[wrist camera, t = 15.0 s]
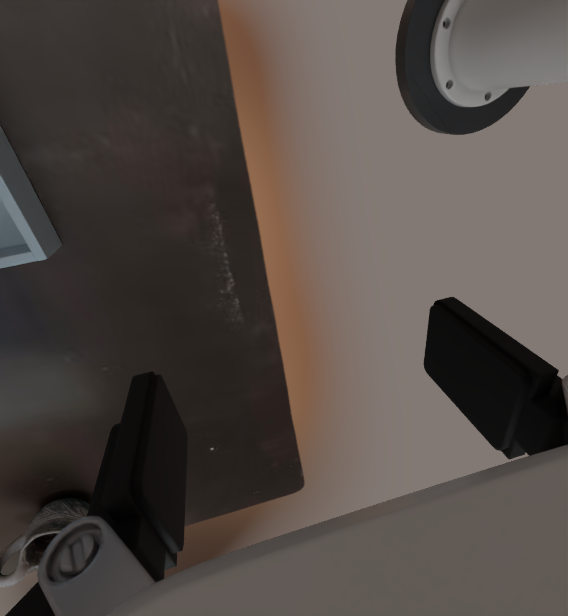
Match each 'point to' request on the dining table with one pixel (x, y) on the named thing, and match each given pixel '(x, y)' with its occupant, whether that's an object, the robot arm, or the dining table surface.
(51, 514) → the mug
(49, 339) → the dining table surface
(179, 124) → the dining table surface
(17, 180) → the blue-grey tray
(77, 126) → the dining table surface
